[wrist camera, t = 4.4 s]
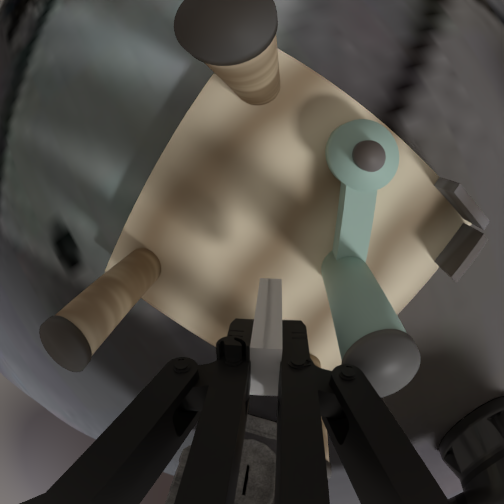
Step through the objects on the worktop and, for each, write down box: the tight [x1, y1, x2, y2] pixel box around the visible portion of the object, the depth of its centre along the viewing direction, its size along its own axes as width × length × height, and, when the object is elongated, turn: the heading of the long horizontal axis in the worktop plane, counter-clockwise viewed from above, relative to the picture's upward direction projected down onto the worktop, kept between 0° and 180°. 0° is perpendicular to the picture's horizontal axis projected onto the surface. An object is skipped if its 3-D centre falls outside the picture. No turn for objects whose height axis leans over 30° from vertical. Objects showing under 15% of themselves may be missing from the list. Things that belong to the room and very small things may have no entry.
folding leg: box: [321, 119, 421, 398], centre depth 14 cm, size 12×4×11 cm, turn 177°
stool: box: [39, 0, 490, 479], centre depth 17 cm, size 22×22×14 cm
